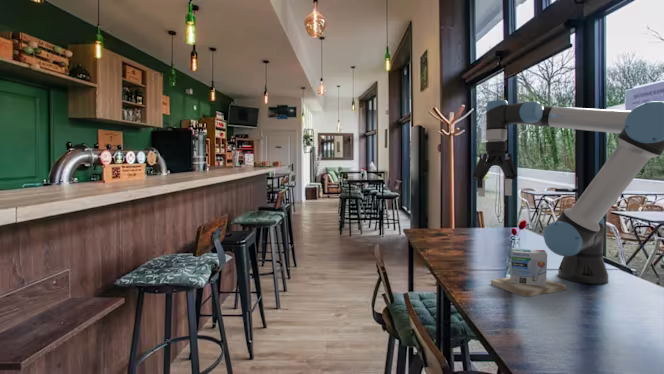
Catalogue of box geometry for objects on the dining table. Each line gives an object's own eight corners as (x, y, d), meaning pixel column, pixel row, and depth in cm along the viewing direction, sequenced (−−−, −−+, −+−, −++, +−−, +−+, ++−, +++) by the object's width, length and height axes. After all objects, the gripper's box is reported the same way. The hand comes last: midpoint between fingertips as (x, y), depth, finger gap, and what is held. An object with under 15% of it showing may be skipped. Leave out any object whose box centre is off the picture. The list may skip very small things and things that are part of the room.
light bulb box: (510, 283, 129) (511, 251, 128) (509, 277, 135) (510, 247, 134) (547, 287, 124) (548, 254, 124) (544, 281, 131) (545, 249, 130)
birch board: (529, 278, 139) (529, 274, 139) (565, 289, 127) (566, 285, 126) (490, 284, 133) (491, 279, 133) (525, 297, 120) (525, 292, 120)
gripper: (512, 142, 158) (511, 194, 159) (463, 141, 148) (462, 196, 150) (528, 141, 151) (526, 195, 152) (478, 139, 142) (476, 197, 143)
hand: (495, 196), depth 151 cm, fingers open, 13 cm apart
